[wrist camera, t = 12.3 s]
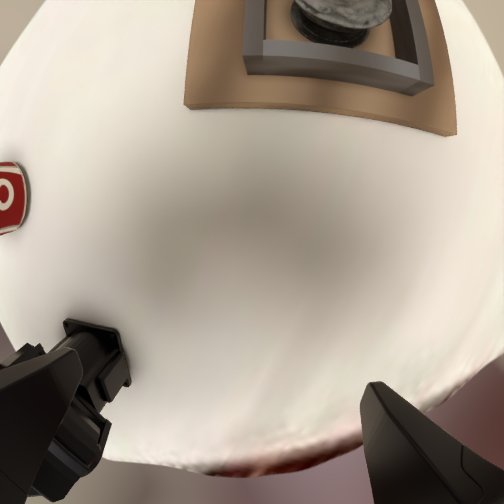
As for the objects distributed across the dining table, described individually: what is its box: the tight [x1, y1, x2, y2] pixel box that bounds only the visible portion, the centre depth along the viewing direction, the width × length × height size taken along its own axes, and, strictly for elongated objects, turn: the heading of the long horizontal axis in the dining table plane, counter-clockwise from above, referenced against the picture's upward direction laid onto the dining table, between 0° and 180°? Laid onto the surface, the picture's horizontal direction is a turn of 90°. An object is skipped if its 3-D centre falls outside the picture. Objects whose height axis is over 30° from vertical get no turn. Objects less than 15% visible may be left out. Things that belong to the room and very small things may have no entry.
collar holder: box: [184, 0, 457, 136], centre depth 11 cm, size 18×14×4 cm
